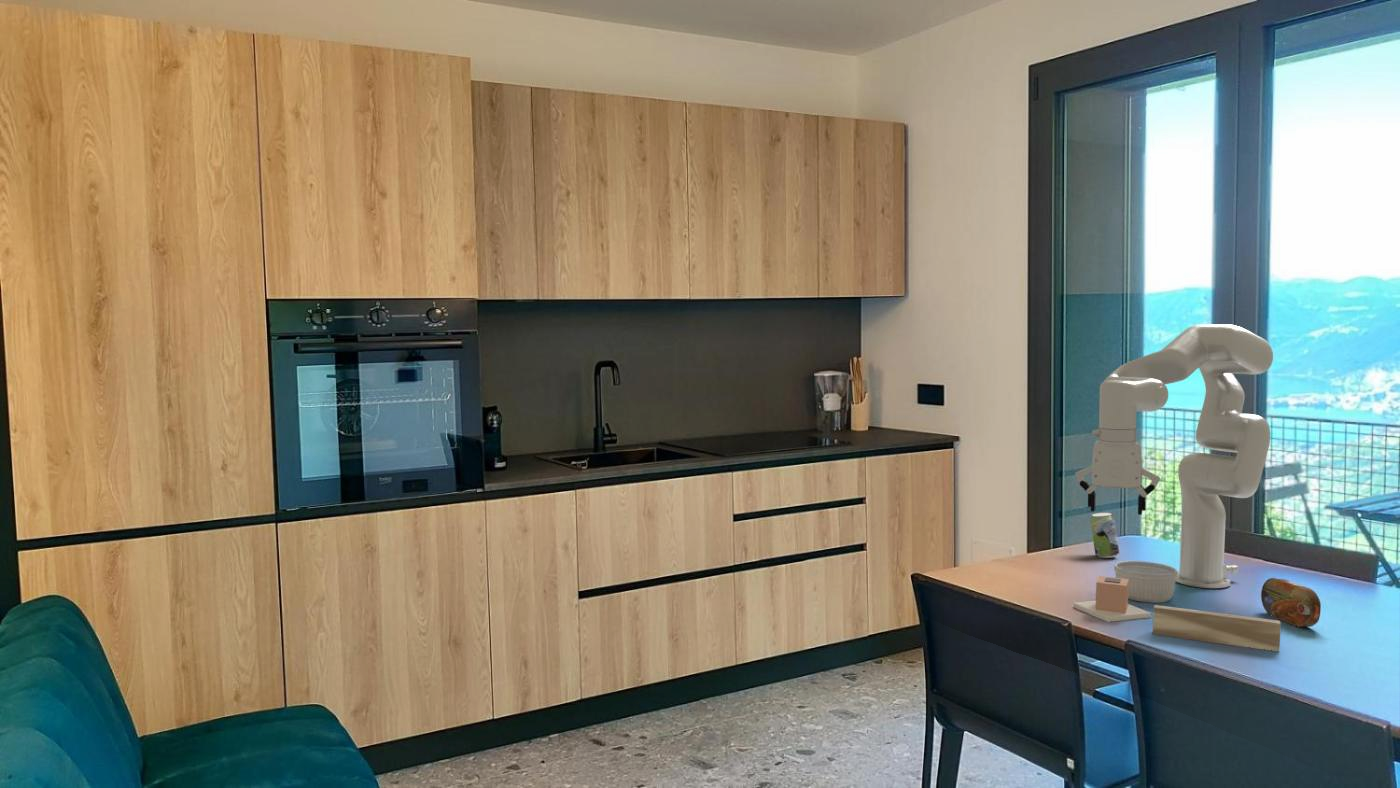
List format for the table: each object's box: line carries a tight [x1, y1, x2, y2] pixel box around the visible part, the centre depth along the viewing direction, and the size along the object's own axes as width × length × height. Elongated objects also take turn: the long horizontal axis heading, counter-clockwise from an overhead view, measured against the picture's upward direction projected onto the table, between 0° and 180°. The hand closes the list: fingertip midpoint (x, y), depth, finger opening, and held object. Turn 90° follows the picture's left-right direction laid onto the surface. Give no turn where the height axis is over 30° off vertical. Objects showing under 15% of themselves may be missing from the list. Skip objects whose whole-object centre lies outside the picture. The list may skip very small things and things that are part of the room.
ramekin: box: [1113, 560, 1178, 604], centre depth 219 cm, size 13×13×7 cm
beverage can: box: [1090, 512, 1120, 559], centre depth 256 cm, size 6×7×12 cm
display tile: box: [1073, 600, 1152, 623], centre depth 207 cm, size 11×11×1 cm
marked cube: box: [1095, 575, 1129, 613], centre depth 207 cm, size 6×6×6 cm
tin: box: [1260, 577, 1322, 628], centre depth 201 cm, size 15×3×8 cm, turn 5°
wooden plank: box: [1152, 604, 1282, 652], centre depth 188 cm, size 2×22×6 cm, turn 62°
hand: (1116, 512), depth 211 cm, fingers open, 9 cm apart
